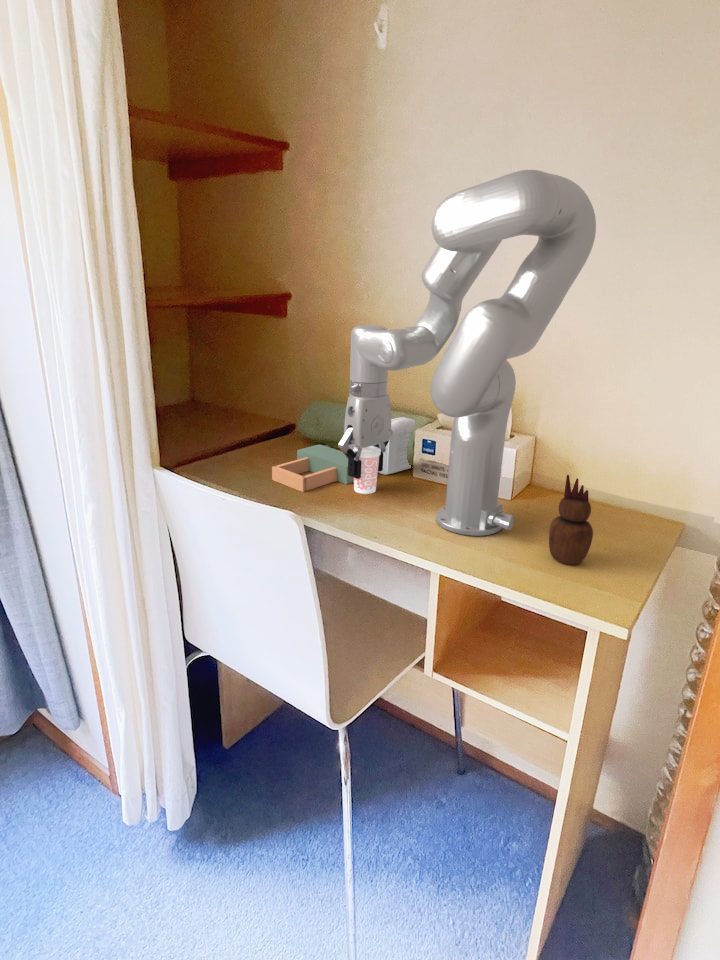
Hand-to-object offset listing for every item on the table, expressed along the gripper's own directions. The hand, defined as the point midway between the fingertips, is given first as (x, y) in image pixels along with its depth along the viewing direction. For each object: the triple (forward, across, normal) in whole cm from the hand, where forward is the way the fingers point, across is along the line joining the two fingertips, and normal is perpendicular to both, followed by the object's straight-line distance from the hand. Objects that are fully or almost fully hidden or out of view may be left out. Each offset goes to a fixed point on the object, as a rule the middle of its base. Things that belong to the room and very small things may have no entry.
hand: (365, 472), depth 130 cm
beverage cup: (+4, 0, 0) cm, 4 cm away
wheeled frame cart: (+4, -2, +13) cm, 14 cm away
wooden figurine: (+4, +1, -45) cm, 45 cm away
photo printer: (+4, +15, +4) cm, 16 cm away
